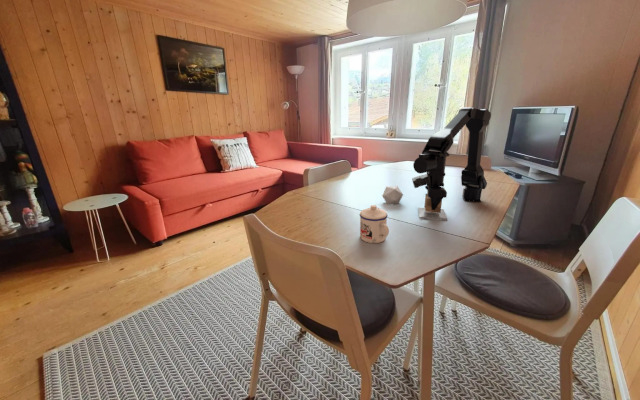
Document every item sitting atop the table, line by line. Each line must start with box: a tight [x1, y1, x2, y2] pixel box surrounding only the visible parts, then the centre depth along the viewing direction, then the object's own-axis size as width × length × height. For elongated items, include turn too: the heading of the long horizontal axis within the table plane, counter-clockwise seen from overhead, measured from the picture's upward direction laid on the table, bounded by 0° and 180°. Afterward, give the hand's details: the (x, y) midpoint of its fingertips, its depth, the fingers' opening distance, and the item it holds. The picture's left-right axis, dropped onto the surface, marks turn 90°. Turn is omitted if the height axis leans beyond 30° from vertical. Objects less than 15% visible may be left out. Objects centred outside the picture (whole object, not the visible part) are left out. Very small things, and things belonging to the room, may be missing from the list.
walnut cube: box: [423, 193, 443, 213], centre depth 104 cm, size 6×6×6 cm
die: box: [381, 185, 404, 205], centre depth 118 cm, size 8×9×10 cm
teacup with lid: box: [359, 204, 390, 244], centre depth 86 cm, size 12×9×12 cm
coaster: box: [417, 207, 448, 221], centre depth 105 cm, size 10×10×1 cm
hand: (432, 207), depth 104 cm, fingers closed on walnut cube, 5 cm apart
